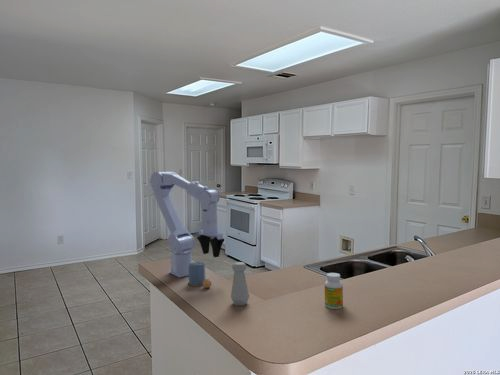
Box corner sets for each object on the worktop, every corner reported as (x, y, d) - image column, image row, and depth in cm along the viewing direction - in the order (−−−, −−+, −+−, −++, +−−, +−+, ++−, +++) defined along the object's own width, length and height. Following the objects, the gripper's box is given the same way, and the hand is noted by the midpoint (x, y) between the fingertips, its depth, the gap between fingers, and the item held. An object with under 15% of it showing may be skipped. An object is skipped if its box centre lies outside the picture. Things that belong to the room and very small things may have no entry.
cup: (186, 282, 133) (186, 264, 133) (200, 279, 137) (199, 261, 136) (194, 285, 129) (193, 267, 128) (208, 282, 132) (207, 264, 132)
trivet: (184, 283, 133) (184, 282, 133) (200, 279, 138) (200, 278, 138) (193, 287, 128) (193, 286, 128) (210, 283, 132) (210, 282, 132)
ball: (201, 287, 127) (200, 279, 127) (208, 285, 129) (208, 277, 129) (205, 290, 125) (205, 281, 125) (213, 288, 127) (213, 279, 127)
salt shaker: (247, 307, 108) (246, 265, 107) (229, 306, 109) (227, 265, 109) (251, 300, 114) (249, 260, 113) (233, 299, 115) (232, 260, 114)
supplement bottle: (325, 309, 105) (325, 277, 105) (324, 302, 110) (323, 271, 110) (344, 309, 104) (343, 277, 104) (341, 302, 110) (341, 272, 109)
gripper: (191, 219, 140) (192, 253, 140) (211, 223, 128) (212, 260, 129) (206, 218, 144) (207, 250, 145) (227, 221, 133) (228, 257, 133)
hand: (211, 255), depth 137 cm, fingers open, 7 cm apart
